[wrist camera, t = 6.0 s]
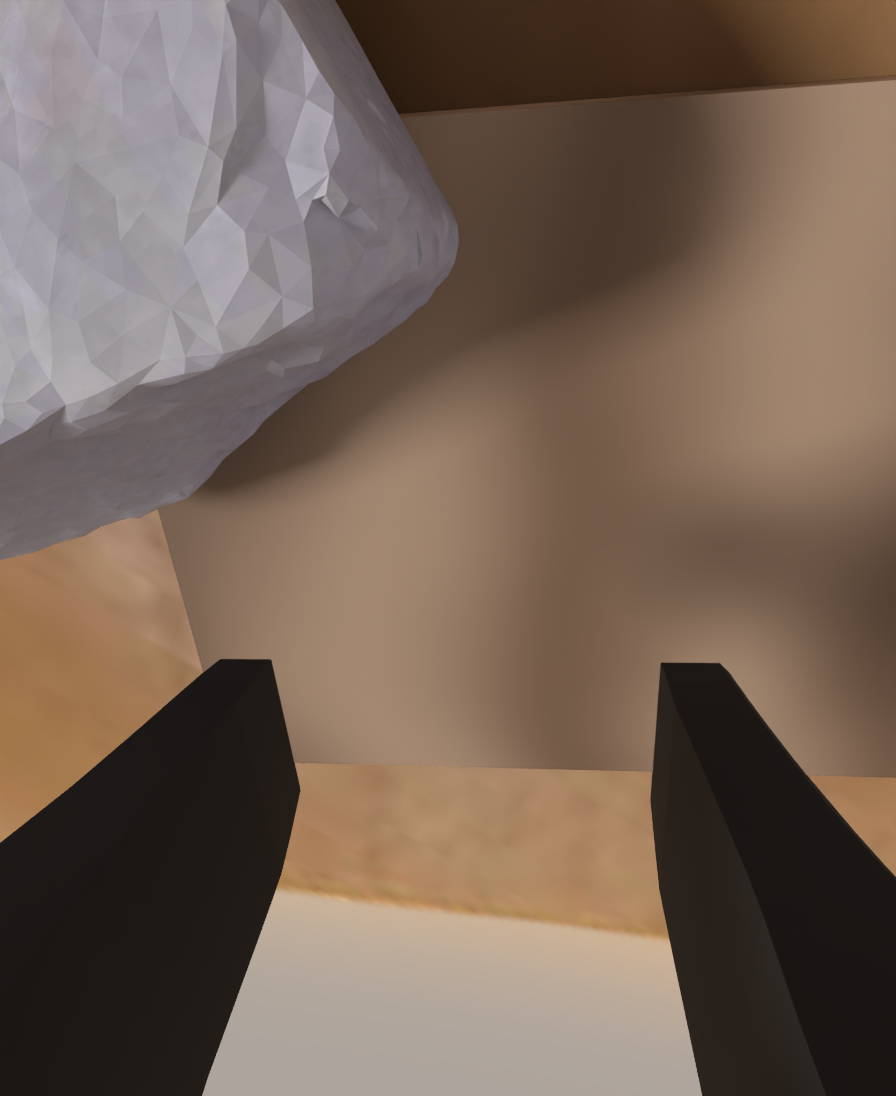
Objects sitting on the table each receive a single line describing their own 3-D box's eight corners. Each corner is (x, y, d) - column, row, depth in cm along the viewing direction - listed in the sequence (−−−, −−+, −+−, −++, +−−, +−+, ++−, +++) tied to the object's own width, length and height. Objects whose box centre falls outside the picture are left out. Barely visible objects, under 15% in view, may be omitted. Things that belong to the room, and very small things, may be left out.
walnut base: (1197, 51, 11) (1314, 47, 10) (980, 710, 17) (1027, 780, 16) (119, 135, 13) (55, 144, 12) (256, 700, 19) (227, 761, 18)
